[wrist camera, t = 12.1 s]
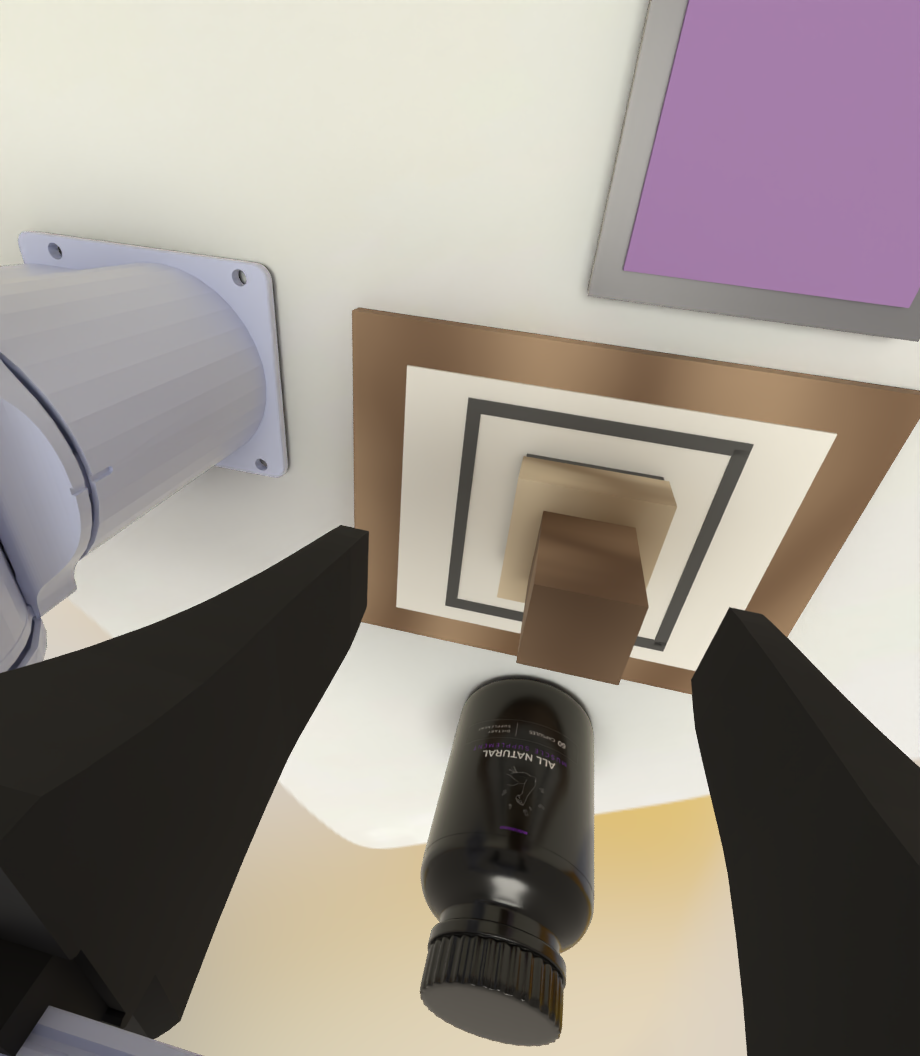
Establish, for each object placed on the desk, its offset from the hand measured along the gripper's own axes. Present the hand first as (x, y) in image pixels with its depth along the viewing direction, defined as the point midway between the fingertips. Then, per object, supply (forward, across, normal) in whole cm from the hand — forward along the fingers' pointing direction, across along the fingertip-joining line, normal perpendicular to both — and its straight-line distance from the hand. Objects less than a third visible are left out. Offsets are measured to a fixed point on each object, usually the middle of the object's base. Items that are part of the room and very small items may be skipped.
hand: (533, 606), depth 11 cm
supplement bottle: (+10, -2, +16) cm, 19 cm away
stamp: (+9, -2, +3) cm, 10 cm away
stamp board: (+10, -2, +4) cm, 11 cm away
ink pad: (+10, -4, -9) cm, 14 cm away
